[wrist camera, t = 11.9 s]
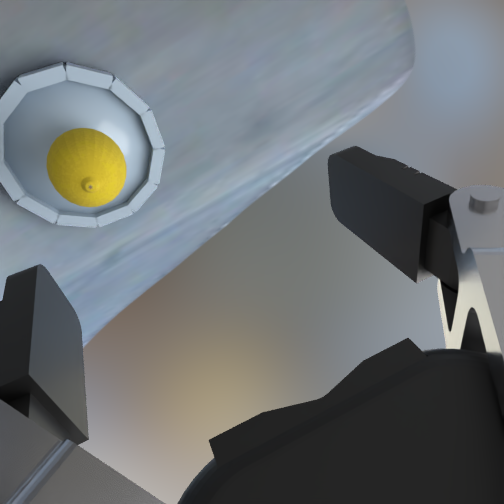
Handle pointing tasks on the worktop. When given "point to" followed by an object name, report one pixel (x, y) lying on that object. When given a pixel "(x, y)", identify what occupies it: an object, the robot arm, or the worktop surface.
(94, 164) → the lemon
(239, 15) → the worktop surface
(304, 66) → the worktop surface
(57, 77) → the dish
